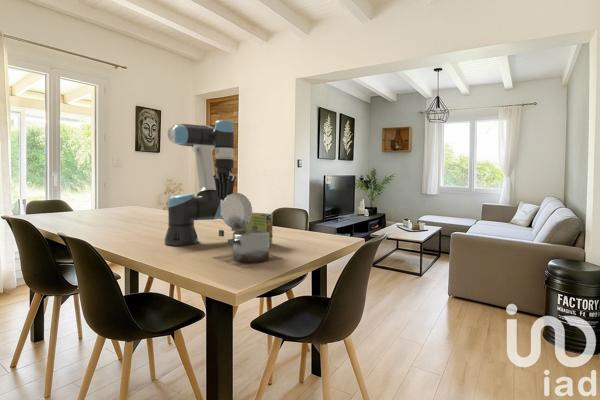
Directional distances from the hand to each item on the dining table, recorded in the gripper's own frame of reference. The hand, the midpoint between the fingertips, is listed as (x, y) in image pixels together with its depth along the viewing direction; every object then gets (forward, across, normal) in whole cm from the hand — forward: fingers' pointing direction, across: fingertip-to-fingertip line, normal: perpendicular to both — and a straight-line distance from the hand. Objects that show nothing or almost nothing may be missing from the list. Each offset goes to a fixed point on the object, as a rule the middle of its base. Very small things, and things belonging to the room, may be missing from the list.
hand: (224, 215), depth 139 cm
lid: (-2, +9, 0) cm, 10 cm away
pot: (+15, +18, 0) cm, 23 cm away
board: (+17, +16, 0) cm, 23 cm away
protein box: (+17, -1, +17) cm, 24 cm away
